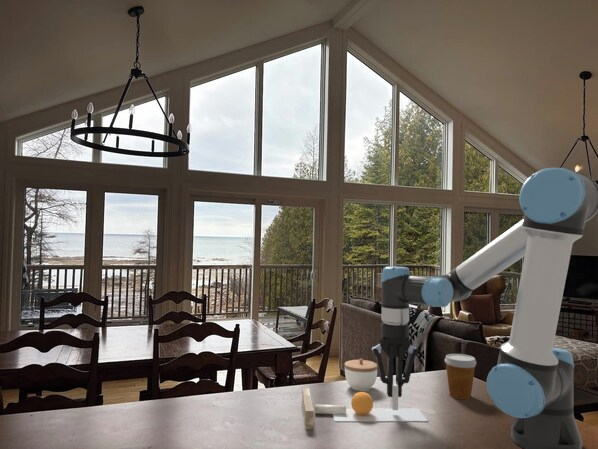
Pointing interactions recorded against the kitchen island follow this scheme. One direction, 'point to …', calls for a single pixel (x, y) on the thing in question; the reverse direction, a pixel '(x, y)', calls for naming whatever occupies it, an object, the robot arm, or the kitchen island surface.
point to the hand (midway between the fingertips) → (394, 408)
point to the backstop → (307, 408)
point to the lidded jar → (360, 374)
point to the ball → (362, 403)
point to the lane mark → (382, 415)
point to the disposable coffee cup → (460, 375)
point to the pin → (330, 409)
